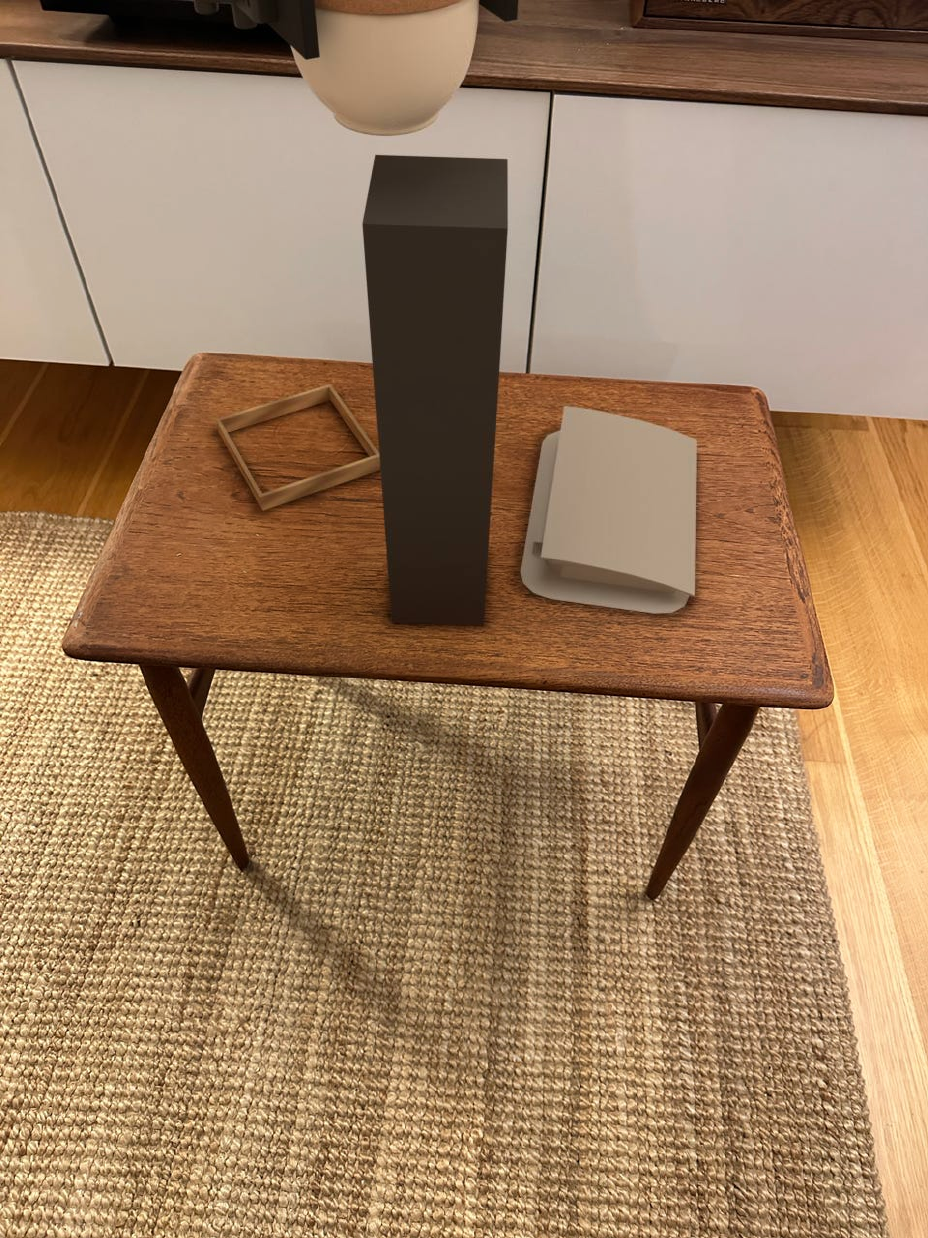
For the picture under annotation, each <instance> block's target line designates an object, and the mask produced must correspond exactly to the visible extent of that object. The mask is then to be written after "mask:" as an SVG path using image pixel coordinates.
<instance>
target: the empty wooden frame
mask: <svg viewBox="0 0 928 1238" xmlns="http://www.w3.org/2000/svg"><path fill="white" fill-rule="evenodd" d="M326 402H331V404H332V405H333V407H335V409H336V410H337V412H338V413H339V416H340V417H341V418H342V419H343V422H345V424H346V425H347V427H348V428H349V429H350V431H351V433H352V434H353V435H354V437H355V438H356V440H357V441H358V442H359V444H360V445H361V446H362V448H363V450H364V451H365V453H366V454H367V455H368V457H365V458H363V459H359V460H356V461H354V462H350V463H348V464H345V465H342V466H339V467H336V468H333V469H331V470H327V471H324V472H321V473H318V474H316V475H313V476H310V477H307V478H304V479H301V480H297V481H295V482H292V483H289V484H287V485H284V486H281V487H277V488H274V489H271V490H268V491H265V492H262V491H261V488H260V487H259V486H258V484H257V482H256V480H255V478H254V476H253V475H252V473H251V471H250V469H249V468H248V466H247V464H246V462H245V460H244V459H243V457H242V456H241V454H240V452H239V451H238V449H237V447H236V445H235V442H233V440H232V438H231V436H230V434H229V433H231V432H234V431H238V430H240V429H244V428H247V427H250V426H254V425H257V424H259V423H264V422H266V421H269V420H273V419H276V418H278V417H282V416H285V415H289V414H292V413H295V412H297V411H301V410H305V409H307V408H310V407H313V406H317V405H321V404H324V403H326ZM215 422H216V426H217V430H218V434H219V436H220V437H221V439H222V441H223V443H224V444H225V446H226V448H227V450H228V451H229V454H230V456H231V457H232V459H233V461H234V462H235V464H236V466H237V468H238V470H239V472H240V473H241V475H242V477H243V478H244V480H245V483H246V484H247V486H248V487H249V490H250V491H251V493H252V495H253V497H254V498H255V500H256V502H257V503H258V505H259V507H260V509H261V511H267V510H269V509H271V508H275V507H278V506H280V505H283V504H286V503H290V502H292V501H295V500H298V499H301V498H304V497H307V496H309V495H312V494H315V493H318V492H321V491H324V490H327V489H329V488H332V487H336V486H338V485H341V484H344V483H347V482H349V481H353V480H355V479H359V478H362V477H365V476H367V475H370V474H373V473H376V472H379V471H380V457H379V449H377V448H376V446H375V445H374V443H373V442H372V440H371V439H370V438H369V436H368V434H367V433H366V432H365V430H364V429H363V427H362V426H361V425H360V423H359V422H358V421H357V419H356V417H355V415H354V414H353V413H352V411H350V409H349V407H347V405H346V403H345V401H344V400H343V399H342V398H341V397H340V395H339V394H338V392H337V391H336V390H335V388H334V387H333V385H332V384H331V383H329V384H328V383H327V384H325V385H322V386H318V387H315V388H313V389H310V390H305V391H303V392H299V393H296V394H292V395H290V396H287V397H283V398H280V399H277V400H274V401H269V402H267V403H264V404H261V405H257V406H254V407H251V408H248V409H244V410H241V411H237V412H234V413H232V414H228V415H225V416H222V417H218V418H216V419H215Z"/></svg>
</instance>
